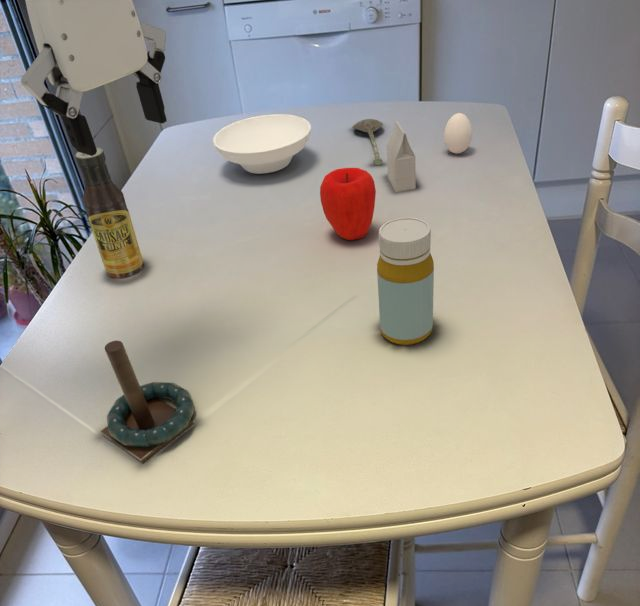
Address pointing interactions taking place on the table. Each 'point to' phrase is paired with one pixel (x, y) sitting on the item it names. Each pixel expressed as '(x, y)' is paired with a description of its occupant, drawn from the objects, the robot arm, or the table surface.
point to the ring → (157, 433)
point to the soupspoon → (370, 134)
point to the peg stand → (137, 403)
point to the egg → (458, 133)
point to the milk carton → (400, 161)
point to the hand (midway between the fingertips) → (123, 136)
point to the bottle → (405, 280)
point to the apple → (348, 201)
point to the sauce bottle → (109, 218)
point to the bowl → (263, 141)
